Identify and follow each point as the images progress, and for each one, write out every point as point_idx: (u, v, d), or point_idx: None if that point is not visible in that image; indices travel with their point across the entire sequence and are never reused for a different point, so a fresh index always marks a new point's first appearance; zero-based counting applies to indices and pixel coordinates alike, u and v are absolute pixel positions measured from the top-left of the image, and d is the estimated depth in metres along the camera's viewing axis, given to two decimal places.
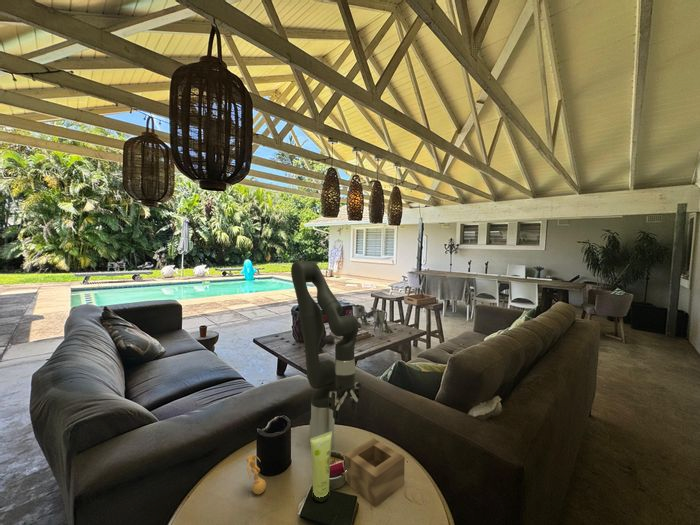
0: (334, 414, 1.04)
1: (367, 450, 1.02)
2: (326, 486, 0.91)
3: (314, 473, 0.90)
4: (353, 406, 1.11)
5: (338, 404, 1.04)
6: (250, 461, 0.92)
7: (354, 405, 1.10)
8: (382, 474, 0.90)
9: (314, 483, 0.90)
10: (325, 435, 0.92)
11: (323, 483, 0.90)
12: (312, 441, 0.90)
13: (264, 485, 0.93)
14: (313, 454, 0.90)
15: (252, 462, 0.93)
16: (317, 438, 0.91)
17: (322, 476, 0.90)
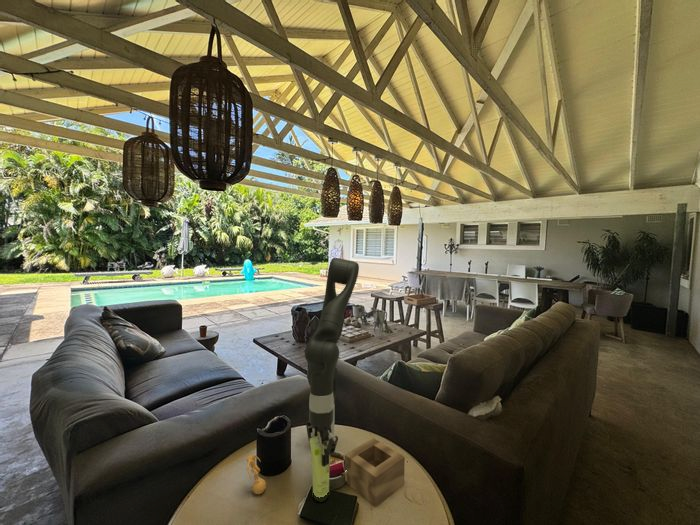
0: (327, 459, 0.90)
1: (367, 450, 1.02)
2: (326, 486, 0.91)
3: (314, 473, 0.90)
4: None
5: None
6: (250, 461, 0.92)
7: None
8: (382, 474, 0.90)
9: (314, 483, 0.90)
10: None
11: (323, 482, 0.90)
12: (312, 441, 0.90)
13: (264, 485, 0.93)
14: (313, 454, 0.90)
15: (252, 462, 0.93)
16: (316, 438, 0.91)
17: (322, 476, 0.90)
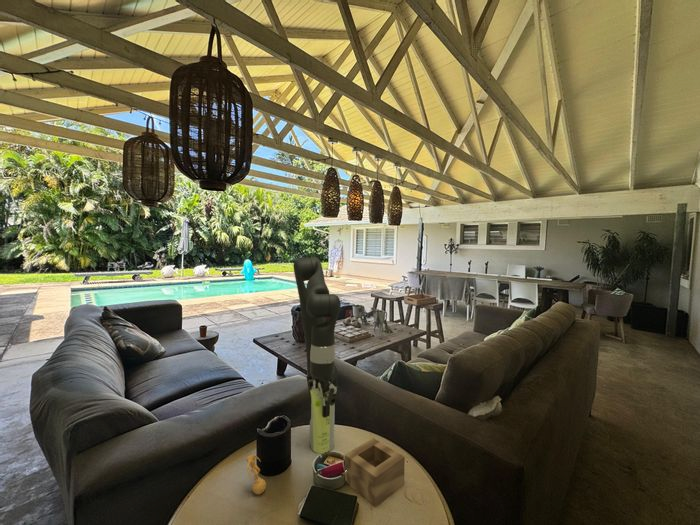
0: (328, 410, 0.90)
1: (367, 450, 1.02)
2: (326, 437, 0.91)
3: (315, 424, 0.90)
4: None
5: None
6: (250, 461, 0.92)
7: None
8: (382, 474, 0.90)
9: (314, 434, 0.90)
10: None
11: (323, 433, 0.90)
12: (312, 392, 0.90)
13: (264, 485, 0.93)
14: (313, 405, 0.90)
15: (252, 462, 0.93)
16: (317, 389, 0.91)
17: (322, 427, 0.90)
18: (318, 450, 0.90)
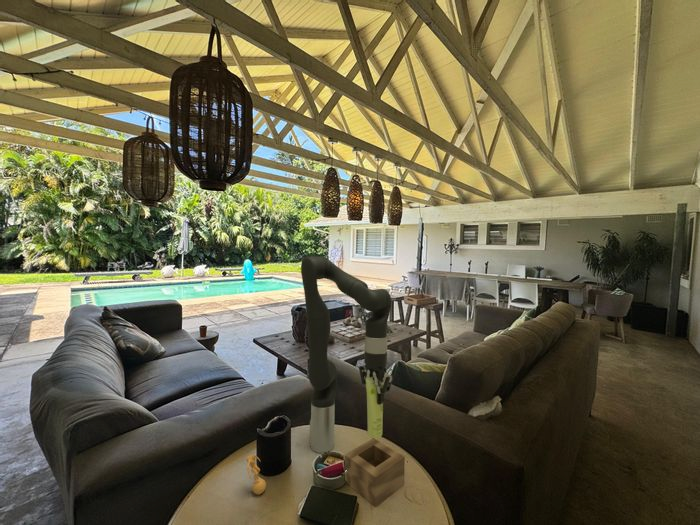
0: (382, 397, 0.96)
1: (367, 450, 1.02)
2: (380, 423, 0.97)
3: (370, 410, 0.96)
4: None
5: (384, 385, 0.97)
6: (250, 461, 0.92)
7: None
8: (382, 474, 0.90)
9: (369, 420, 0.97)
10: None
11: (378, 419, 0.96)
12: (368, 381, 0.96)
13: (264, 485, 0.93)
14: (369, 393, 0.96)
15: (252, 462, 0.93)
16: (371, 378, 0.97)
17: (377, 414, 0.96)
18: (373, 435, 0.96)
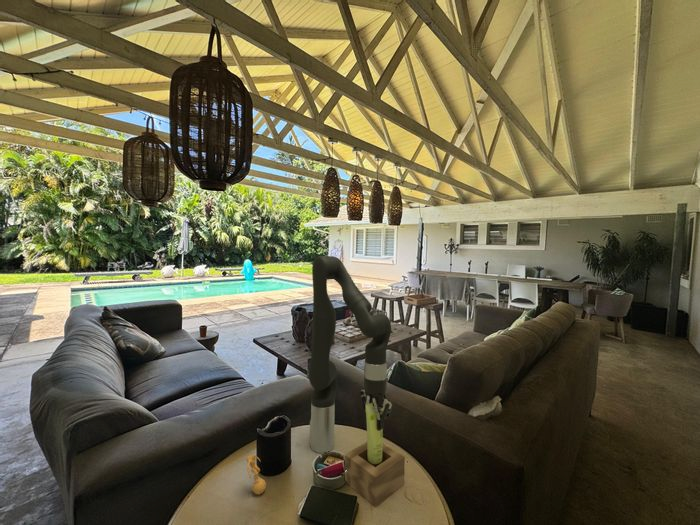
0: (382, 423, 0.96)
1: None
2: (380, 449, 0.97)
3: (370, 437, 0.96)
4: None
5: (383, 411, 0.97)
6: (250, 461, 0.92)
7: None
8: (382, 474, 0.90)
9: (369, 446, 0.97)
10: None
11: (378, 445, 0.96)
12: (367, 407, 0.97)
13: (264, 485, 0.93)
14: (368, 419, 0.96)
15: (252, 462, 0.93)
16: (371, 404, 0.97)
17: (377, 440, 0.96)
18: (373, 461, 0.96)
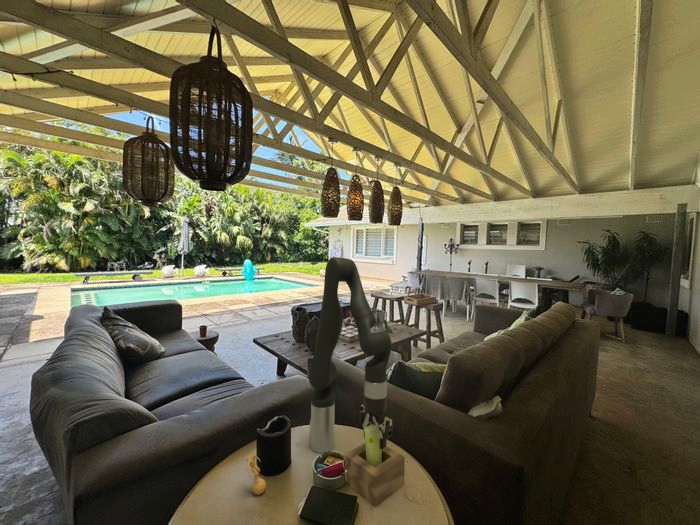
0: (385, 442, 0.95)
1: None
2: None
3: (369, 459, 0.96)
4: None
5: None
6: (250, 461, 0.92)
7: None
8: (382, 474, 0.90)
9: None
10: None
11: None
12: (366, 430, 0.97)
13: (264, 485, 0.93)
14: (367, 442, 0.96)
15: (252, 462, 0.93)
16: (369, 427, 0.97)
17: (376, 462, 0.96)
18: None
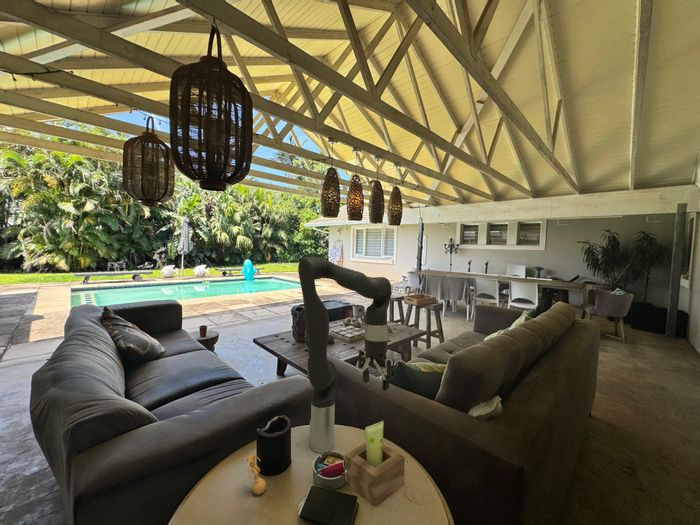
0: (388, 384, 0.94)
1: None
2: None
3: (370, 459, 0.96)
4: (367, 377, 1.01)
5: None
6: (250, 461, 0.92)
7: (368, 374, 1.02)
8: (382, 474, 0.90)
9: None
10: (378, 424, 0.99)
11: None
12: (367, 430, 0.96)
13: (264, 485, 0.93)
14: (368, 442, 0.96)
15: (252, 462, 0.93)
16: (371, 427, 0.97)
17: (376, 462, 0.96)
18: None
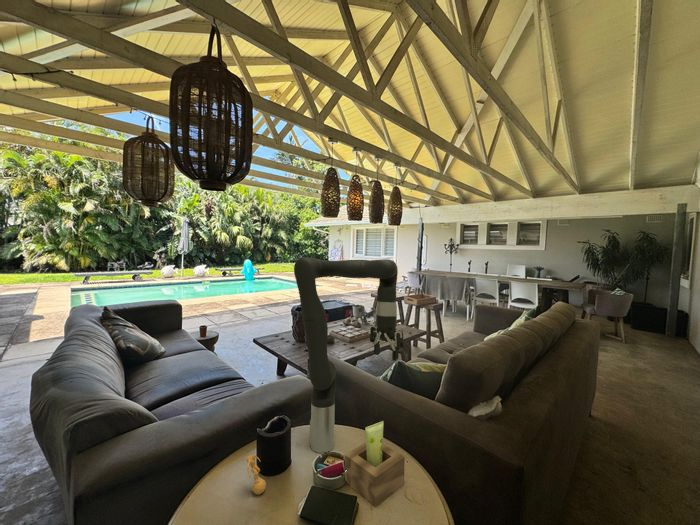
0: (397, 354, 1.06)
1: None
2: None
3: (370, 459, 0.96)
4: (378, 349, 1.12)
5: (397, 343, 1.07)
6: (250, 461, 0.92)
7: (379, 347, 1.13)
8: (382, 474, 0.90)
9: None
10: (378, 424, 0.99)
11: None
12: (367, 430, 0.96)
13: (264, 485, 0.93)
14: (368, 442, 0.96)
15: (252, 462, 0.93)
16: (371, 427, 0.97)
17: (376, 463, 0.96)
18: None
